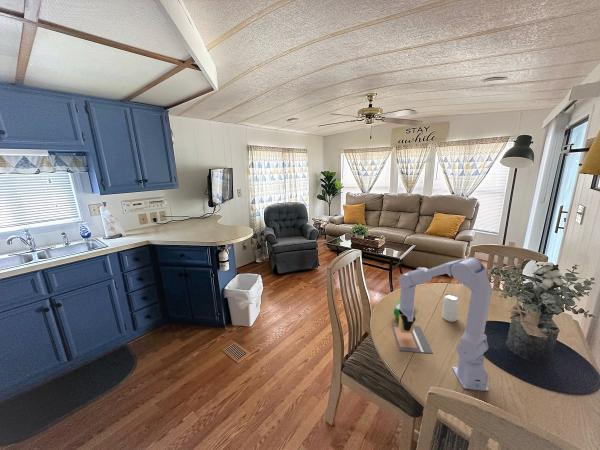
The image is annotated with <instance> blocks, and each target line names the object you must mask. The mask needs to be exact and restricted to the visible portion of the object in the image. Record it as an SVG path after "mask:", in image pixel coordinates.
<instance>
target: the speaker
mask: <svg viewBox="0 0 600 450" xmlns="http://www.w3.org/2000/svg"><path fill="white" fill-rule="evenodd" d="M399 305H400V298H399V300H398V301H397V302H396V305H395V307H394V309H393V315H394V317H395V318H396V319H398V320H399V314H400V312H399V310H397V306H399Z"/></svg>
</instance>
